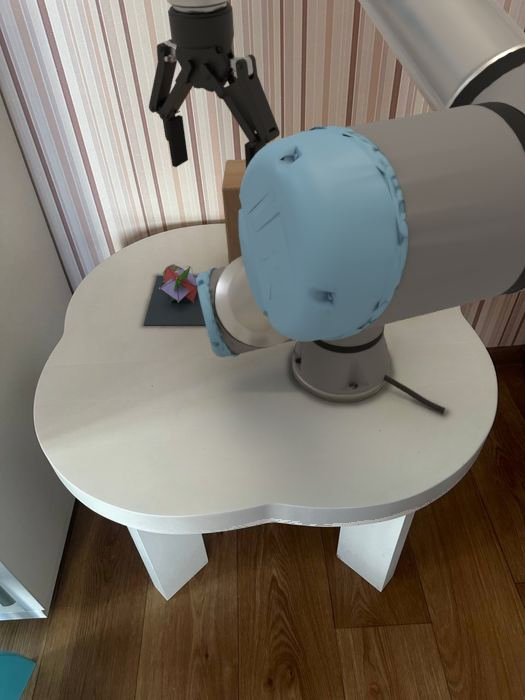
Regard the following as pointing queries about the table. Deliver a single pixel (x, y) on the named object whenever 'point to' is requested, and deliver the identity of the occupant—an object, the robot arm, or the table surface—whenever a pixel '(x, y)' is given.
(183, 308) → the mat
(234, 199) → the wooden block
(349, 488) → the table surface
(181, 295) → the geometric puzzle
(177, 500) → the table surface
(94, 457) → the table surface
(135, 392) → the table surface
